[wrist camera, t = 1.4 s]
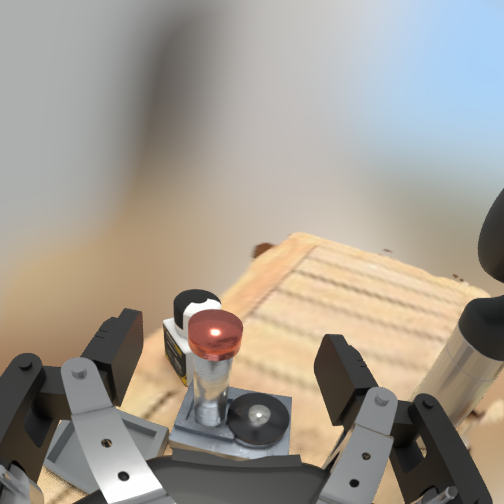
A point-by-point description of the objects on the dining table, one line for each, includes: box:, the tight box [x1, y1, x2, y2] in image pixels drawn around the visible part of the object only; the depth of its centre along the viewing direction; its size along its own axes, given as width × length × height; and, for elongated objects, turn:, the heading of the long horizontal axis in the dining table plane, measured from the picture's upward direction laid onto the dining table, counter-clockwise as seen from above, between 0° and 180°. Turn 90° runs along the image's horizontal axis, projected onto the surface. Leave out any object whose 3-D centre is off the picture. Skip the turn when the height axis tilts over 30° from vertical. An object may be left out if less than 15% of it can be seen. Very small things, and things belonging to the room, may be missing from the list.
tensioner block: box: [168, 378, 292, 461], centre depth 28 cm, size 13×10×5 cm
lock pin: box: [188, 309, 243, 426], centre depth 25 cm, size 5×5×14 cm
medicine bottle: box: [163, 289, 221, 386], centre depth 36 cm, size 7×7×12 cm
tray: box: [43, 409, 170, 495], centre depth 20 cm, size 12×12×2 cm
